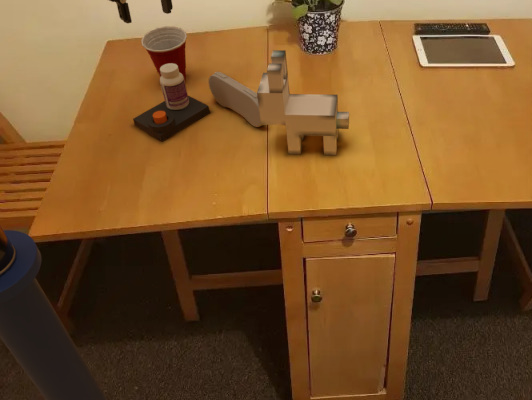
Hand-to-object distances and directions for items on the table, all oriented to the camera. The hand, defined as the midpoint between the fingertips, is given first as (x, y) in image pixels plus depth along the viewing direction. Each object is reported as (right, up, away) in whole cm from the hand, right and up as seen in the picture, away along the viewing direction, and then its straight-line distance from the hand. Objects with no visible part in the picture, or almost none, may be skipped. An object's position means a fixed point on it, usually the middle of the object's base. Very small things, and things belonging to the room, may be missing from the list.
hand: (147, 17), depth 113 cm
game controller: (+15, -16, +21) cm, 30 cm away
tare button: (-2, -18, +15) cm, 23 cm away
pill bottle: (+1, -13, +22) cm, 26 cm away
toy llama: (+31, -23, +12) cm, 41 cm away
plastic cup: (-3, -6, +33) cm, 34 cm away
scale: (0, -17, +21) cm, 27 cm away
